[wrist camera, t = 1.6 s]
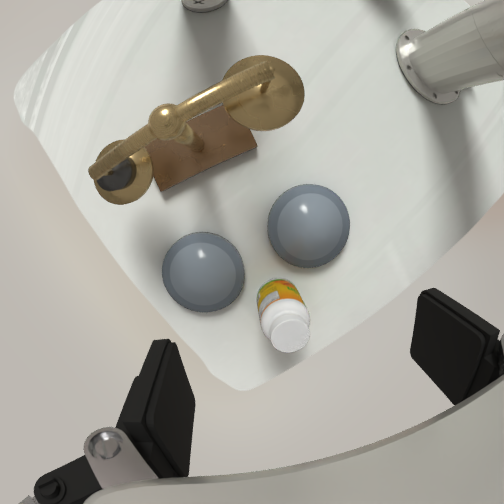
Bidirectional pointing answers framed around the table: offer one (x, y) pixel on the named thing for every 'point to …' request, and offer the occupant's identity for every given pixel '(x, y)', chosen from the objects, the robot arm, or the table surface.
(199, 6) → the travel mug
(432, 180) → the table surface
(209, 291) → the dish low side
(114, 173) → the balance
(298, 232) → the dish high side
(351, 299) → the table surface
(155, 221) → the table surface
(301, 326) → the supplement bottle
